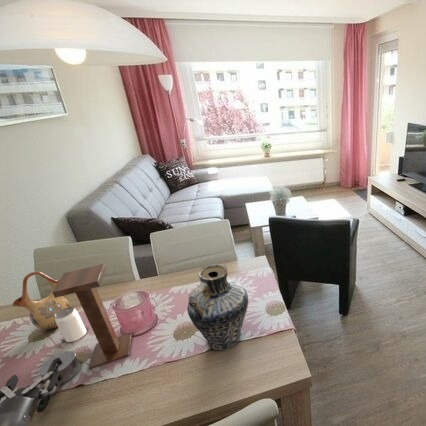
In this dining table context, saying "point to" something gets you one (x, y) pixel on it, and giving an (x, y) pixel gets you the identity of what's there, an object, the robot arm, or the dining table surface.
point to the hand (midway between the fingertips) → (35, 370)
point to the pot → (67, 369)
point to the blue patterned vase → (218, 307)
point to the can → (70, 324)
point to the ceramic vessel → (42, 304)
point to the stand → (95, 312)
